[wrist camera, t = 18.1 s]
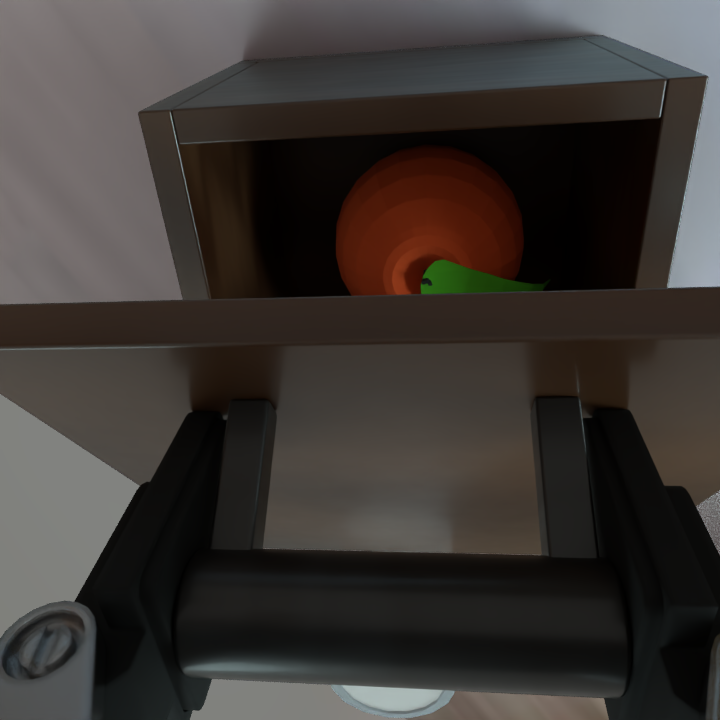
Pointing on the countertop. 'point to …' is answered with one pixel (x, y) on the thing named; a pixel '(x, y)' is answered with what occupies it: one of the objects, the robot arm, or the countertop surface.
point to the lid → (390, 469)
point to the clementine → (430, 227)
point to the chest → (431, 127)
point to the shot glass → (393, 698)
